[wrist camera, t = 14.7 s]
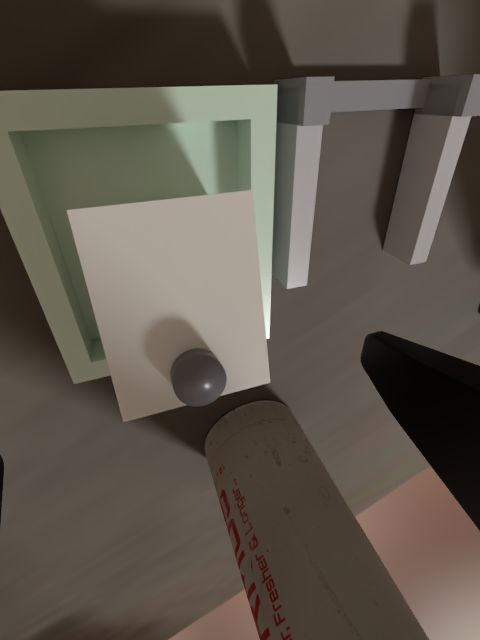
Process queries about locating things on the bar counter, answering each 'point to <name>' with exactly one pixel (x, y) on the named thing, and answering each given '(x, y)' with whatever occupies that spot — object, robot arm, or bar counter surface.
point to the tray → (124, 179)
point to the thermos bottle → (299, 535)
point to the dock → (416, 173)
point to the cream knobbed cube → (175, 298)
